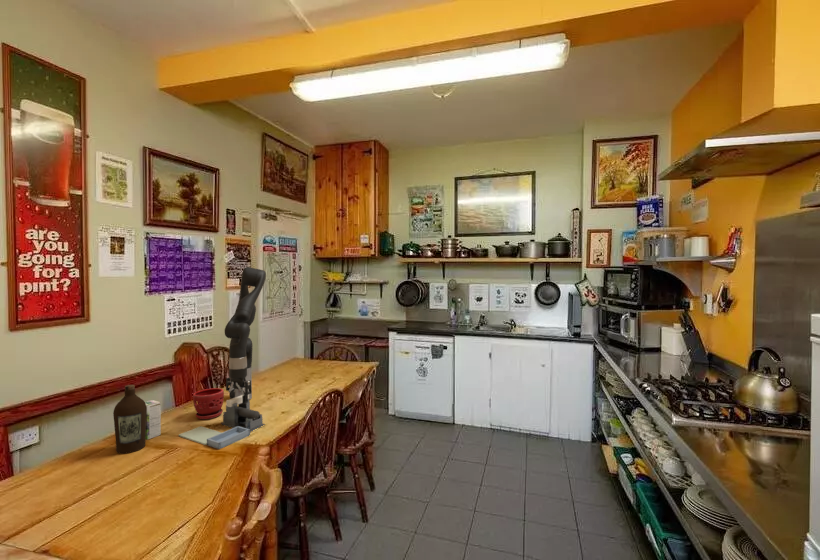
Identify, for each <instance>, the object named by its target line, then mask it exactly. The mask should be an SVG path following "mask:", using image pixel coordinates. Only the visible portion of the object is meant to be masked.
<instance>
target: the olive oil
mask: <svg viewBox="0 0 820 560" xmlns="http://www.w3.org/2000/svg"><path fill="white" fill-rule="evenodd" d="M135 387H136V386H135V384H126V385H124V396H123V397H122V398H121V399H120V400H119V402H117V404H116V405H115V406H114V409H113V412H112V413H113V415H112V416H113V423H114V424H113V425H114V436H115V439H114V440H115V451H116V453H117V454H120V453H121V454H131V453H135V452H138V451H140V450H142V449H144V448H145V446H146V411H147V407H146V404H145V402H146V401H144V399H143V398H141V397H140V396H138V395H136V388H135Z"/></svg>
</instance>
